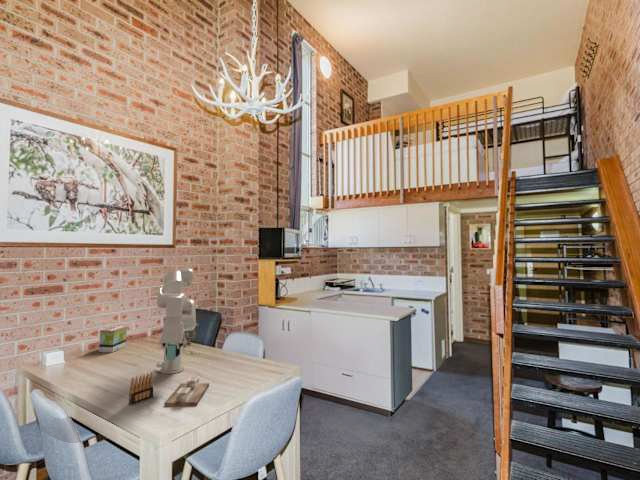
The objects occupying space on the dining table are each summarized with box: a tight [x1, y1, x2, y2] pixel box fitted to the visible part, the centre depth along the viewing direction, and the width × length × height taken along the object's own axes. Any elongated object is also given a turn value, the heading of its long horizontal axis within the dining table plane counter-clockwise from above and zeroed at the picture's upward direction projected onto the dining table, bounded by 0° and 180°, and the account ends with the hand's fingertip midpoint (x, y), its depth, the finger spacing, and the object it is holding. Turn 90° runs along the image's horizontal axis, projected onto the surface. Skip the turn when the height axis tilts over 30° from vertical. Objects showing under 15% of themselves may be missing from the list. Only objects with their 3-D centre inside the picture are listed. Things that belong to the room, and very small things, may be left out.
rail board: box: [163, 376, 210, 407], centre depth 162 cm, size 14×22×5 cm, turn 4°
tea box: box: [98, 325, 128, 353], centre depth 235 cm, size 15×10×15 cm, turn 179°
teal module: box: [167, 343, 179, 360], centre depth 174 cm, size 4×6×7 cm, turn 4°
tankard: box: [182, 322, 199, 345], centre depth 255 cm, size 20×13×15 cm, turn 81°
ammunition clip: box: [128, 371, 154, 406], centre depth 156 cm, size 11×2×12 cm, turn 149°
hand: (172, 355), depth 173 cm, fingers closed on teal module, 4 cm apart
